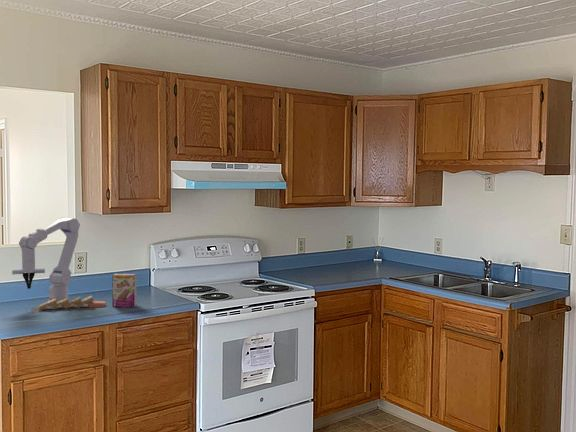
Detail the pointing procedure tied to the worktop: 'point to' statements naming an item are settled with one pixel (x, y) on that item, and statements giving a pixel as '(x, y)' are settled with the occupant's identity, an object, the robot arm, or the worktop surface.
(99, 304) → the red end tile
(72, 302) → the maple tile
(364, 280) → the worktop surface
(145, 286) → the worktop surface
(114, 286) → the candy bar box
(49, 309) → the domino mat
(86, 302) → the maple tile
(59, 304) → the maple tile
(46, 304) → the maple tile
